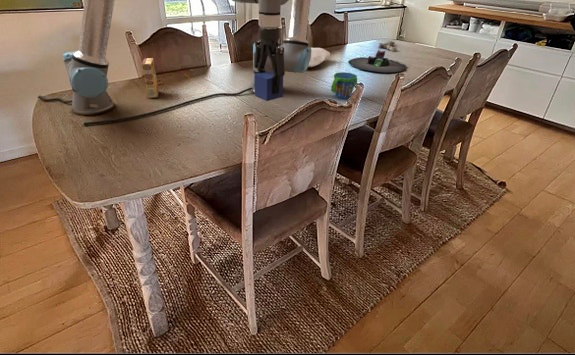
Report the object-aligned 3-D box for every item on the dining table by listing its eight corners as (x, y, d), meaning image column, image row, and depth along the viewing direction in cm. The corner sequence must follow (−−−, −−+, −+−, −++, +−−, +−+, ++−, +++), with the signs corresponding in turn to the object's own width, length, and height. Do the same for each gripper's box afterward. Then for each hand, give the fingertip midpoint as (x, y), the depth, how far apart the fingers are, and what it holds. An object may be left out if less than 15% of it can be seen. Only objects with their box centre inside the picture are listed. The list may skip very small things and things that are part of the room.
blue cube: (266, 101, 136) (267, 79, 132) (254, 95, 141) (254, 74, 136) (282, 96, 141) (283, 75, 137) (270, 91, 146) (270, 70, 141)
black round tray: (418, 67, 219) (420, 52, 215) (377, 75, 202) (379, 59, 197) (375, 58, 244) (377, 43, 239) (336, 64, 226) (337, 49, 222)
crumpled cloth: (269, 61, 216) (271, 46, 210) (311, 52, 236) (313, 38, 230) (296, 77, 203) (298, 61, 198) (337, 66, 223) (341, 52, 218)
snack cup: (348, 90, 181) (350, 70, 176) (362, 97, 174) (365, 76, 168) (323, 95, 174) (325, 74, 168) (337, 102, 166) (340, 80, 161)
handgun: (406, 44, 264) (388, 40, 272) (394, 47, 252) (376, 43, 260) (405, 48, 265) (387, 44, 273) (394, 52, 254) (375, 47, 262)
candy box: (157, 97, 164) (152, 63, 155) (147, 98, 163) (141, 63, 155) (158, 91, 171) (153, 57, 163) (149, 91, 170) (143, 58, 162)
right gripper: (297, 30, 124) (294, 95, 136) (259, 21, 136) (259, 81, 148) (280, 33, 119) (278, 100, 131) (243, 23, 132) (245, 85, 144)
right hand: (268, 90), depth 140 cm, fingers closed on blue cube, 7 cm apart
